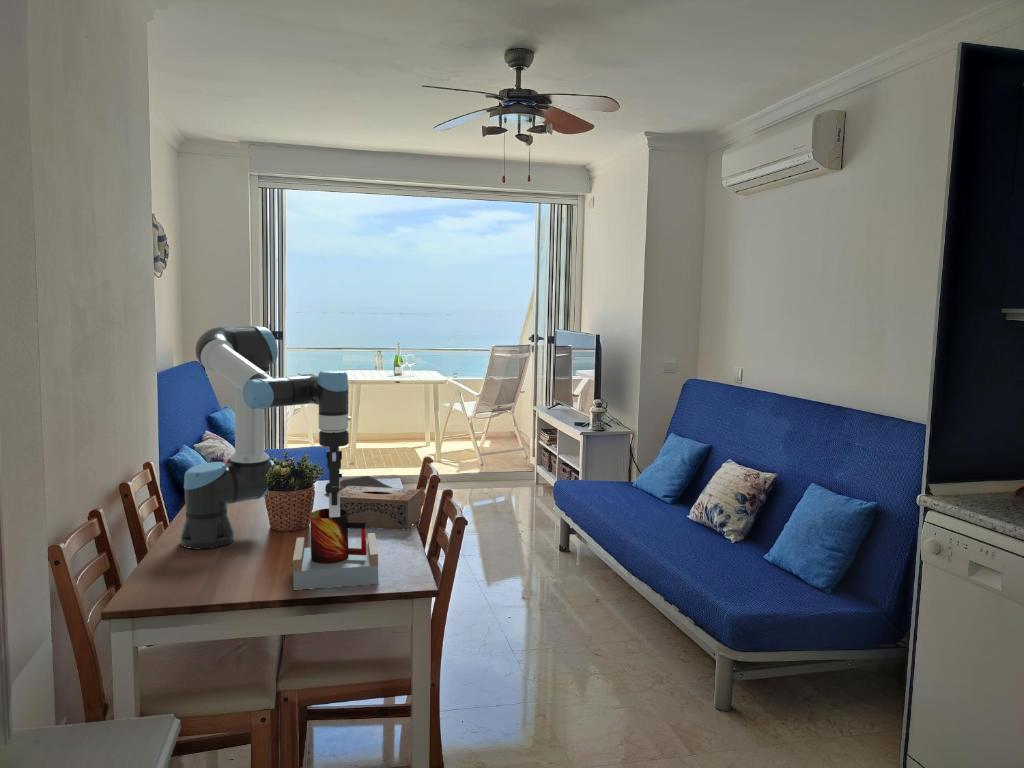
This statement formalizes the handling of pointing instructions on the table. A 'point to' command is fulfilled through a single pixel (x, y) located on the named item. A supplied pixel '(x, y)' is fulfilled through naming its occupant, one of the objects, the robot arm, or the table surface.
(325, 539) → the mug
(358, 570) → the notched stand
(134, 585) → the table surface
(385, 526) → the tissue box cover
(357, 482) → the diary
